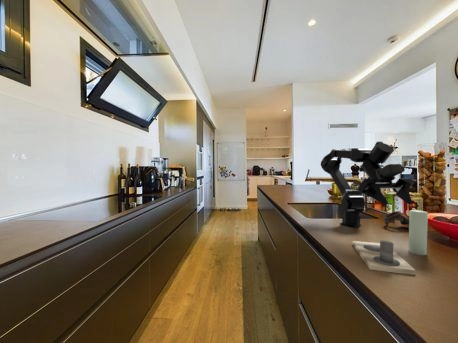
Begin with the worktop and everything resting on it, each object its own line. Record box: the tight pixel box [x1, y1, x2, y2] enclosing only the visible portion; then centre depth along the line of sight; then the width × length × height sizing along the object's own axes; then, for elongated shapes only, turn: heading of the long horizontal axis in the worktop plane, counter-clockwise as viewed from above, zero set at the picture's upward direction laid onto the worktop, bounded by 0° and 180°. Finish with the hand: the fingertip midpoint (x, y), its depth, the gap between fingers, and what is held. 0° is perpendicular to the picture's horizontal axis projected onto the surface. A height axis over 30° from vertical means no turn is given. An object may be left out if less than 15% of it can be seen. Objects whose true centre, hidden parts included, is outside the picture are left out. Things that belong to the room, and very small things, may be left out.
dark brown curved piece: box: [383, 210, 409, 229], centre depth 102 cm, size 12×10×8 cm
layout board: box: [351, 240, 416, 276], centre depth 68 cm, size 20×10×6 cm, turn 163°
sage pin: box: [408, 209, 429, 256], centre depth 72 cm, size 4×4×13 cm
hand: (398, 204), depth 79 cm, fingers open, 9 cm apart
